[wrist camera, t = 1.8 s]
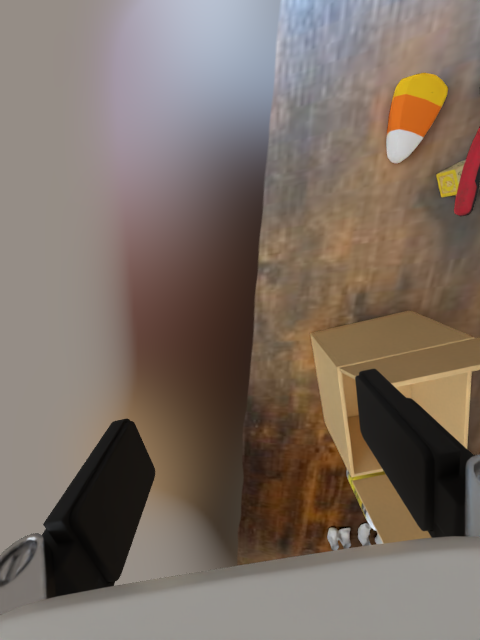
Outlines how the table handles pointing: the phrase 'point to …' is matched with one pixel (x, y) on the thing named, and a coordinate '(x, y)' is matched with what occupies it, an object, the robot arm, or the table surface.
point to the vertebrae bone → (344, 536)
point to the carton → (433, 396)
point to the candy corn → (413, 113)
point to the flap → (424, 363)
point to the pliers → (469, 180)
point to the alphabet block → (450, 179)
